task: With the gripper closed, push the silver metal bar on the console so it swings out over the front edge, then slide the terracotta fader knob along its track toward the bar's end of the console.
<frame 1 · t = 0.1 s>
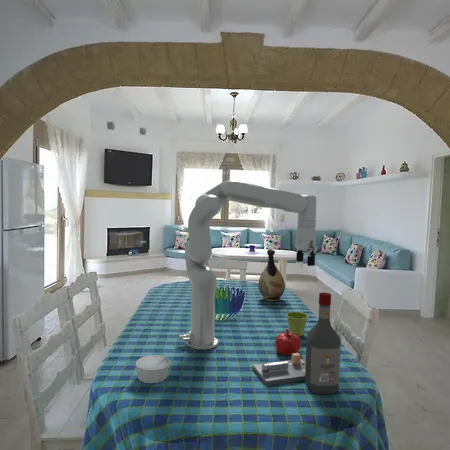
hand: (305, 263, 161), 31 cm above the table, tool pointing down, fingers open, 9 cm apart
ramekin: (152, 378, 123), on the table
pomegranate: (287, 353, 144), on the table
ceramic jug: (271, 300, 217), on the table
silver metal bar: (275, 366, 125), point 3 cm above the table, hinge at 0.0°
plant pot: (296, 335, 163), on the table
liquor: (321, 387, 119), on the table
console: (286, 373, 127), on the table
fader knob: (296, 358, 131), point 3 cm above the table, slide at 0.0 cm
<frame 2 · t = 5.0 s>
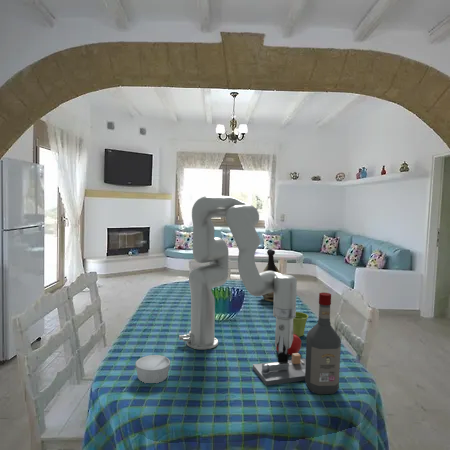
hand: (282, 363, 128), 3 cm above the table, tool pointing down, fingers closed
silver metal bar: (275, 366, 125), point 3 cm above the table, hinge at 2.7°, touching gripper
everything else where it was.
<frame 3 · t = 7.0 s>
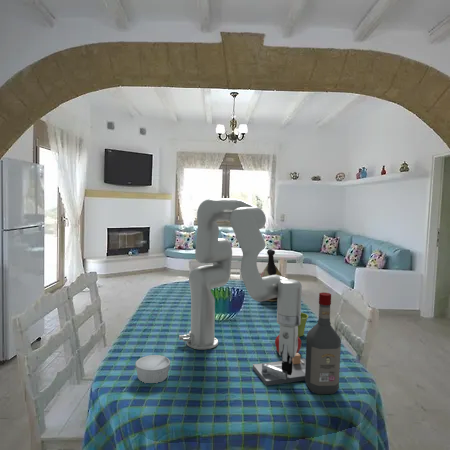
hand: (286, 373, 122), 3 cm above the table, tool pointing down, fingers closed
silver metal bar: (274, 371, 122), point 3 cm above the table, hinge at 57.5°, touching gripper
everything else where it was.
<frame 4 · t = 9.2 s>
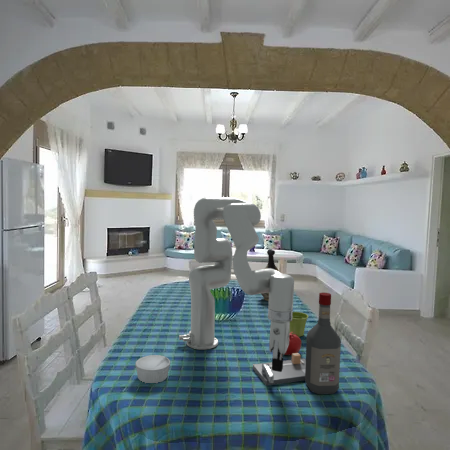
hand: (277, 369, 119), 5 cm above the table, tool pointing down, fingers closed
silver metal bar: (268, 372, 121), point 3 cm above the table, hinge at 98.8°
everything else where it was.
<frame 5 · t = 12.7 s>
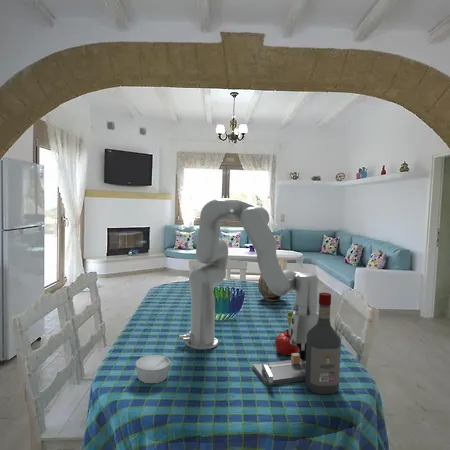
hand: (303, 359, 132), 3 cm above the table, tool pointing down, fingers closed
silver metal bar: (267, 372, 121), point 3 cm above the table, hinge at 100.7°
fader knob: (295, 358, 131), point 3 cm above the table, slide at 0.2 cm, touching gripper
everything else where it was.
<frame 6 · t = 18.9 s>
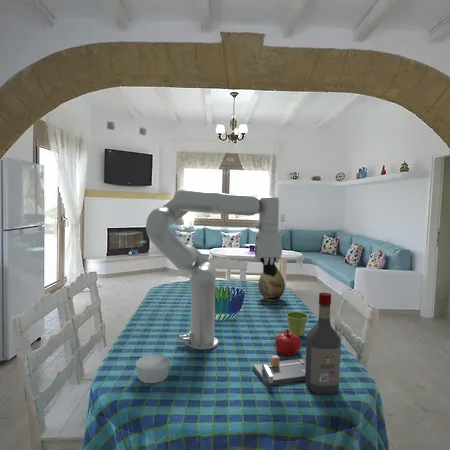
hand: (267, 274, 148), 29 cm above the table, tool pointing down, fingers closed
fader knob: (274, 360, 129), point 3 cm above the table, slide at 8.1 cm
everything else where it was.
at the end: silver metal bar at +101° (first picture: +0°); fader knob slide at 8.1 cm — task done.
